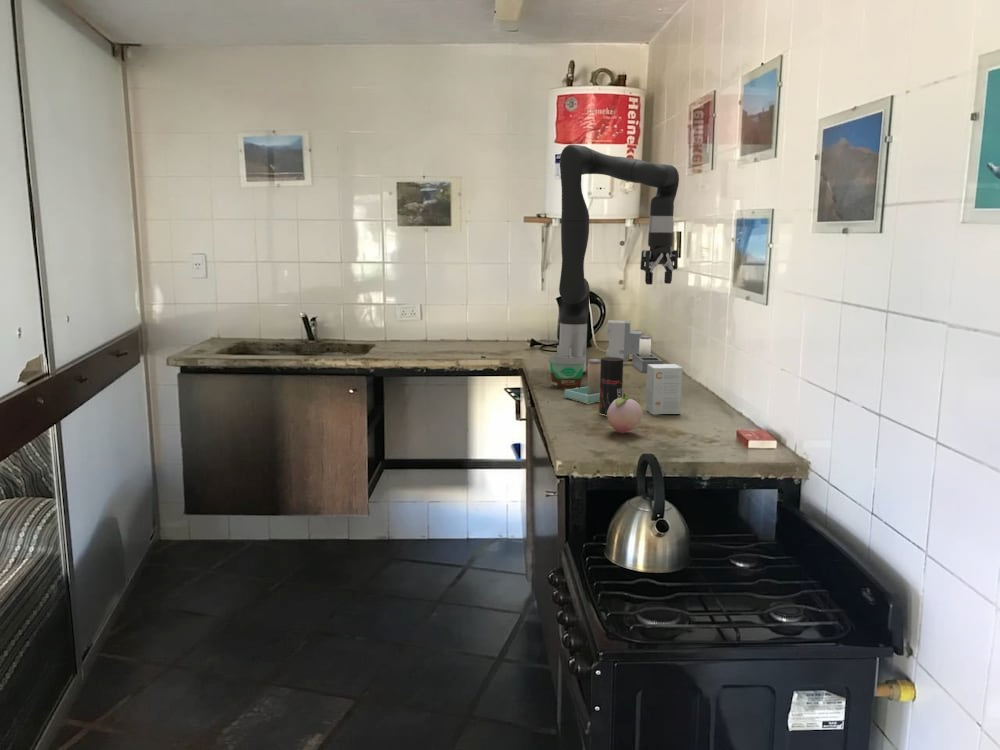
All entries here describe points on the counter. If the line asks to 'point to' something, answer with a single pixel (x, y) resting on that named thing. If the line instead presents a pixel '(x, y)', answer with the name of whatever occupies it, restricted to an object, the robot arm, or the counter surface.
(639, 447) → the counter surface
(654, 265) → the robot arm
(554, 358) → the food container
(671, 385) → the small box
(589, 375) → the brown tall block
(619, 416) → the decorative fruit
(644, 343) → the holder
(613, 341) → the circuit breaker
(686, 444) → the counter surface
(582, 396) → the parts tray
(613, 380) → the deodorant
